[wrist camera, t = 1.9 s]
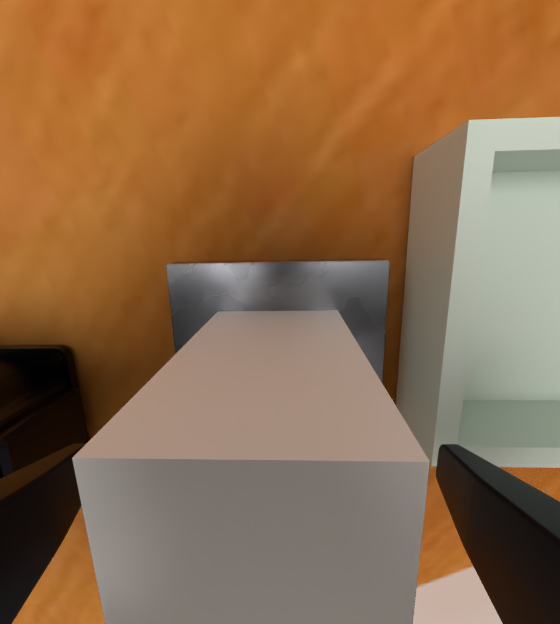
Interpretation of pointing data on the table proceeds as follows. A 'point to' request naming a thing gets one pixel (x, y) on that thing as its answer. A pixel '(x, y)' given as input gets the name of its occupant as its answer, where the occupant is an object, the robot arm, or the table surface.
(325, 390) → the grey tall block
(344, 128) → the table surface
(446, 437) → the bin
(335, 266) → the stud plate
